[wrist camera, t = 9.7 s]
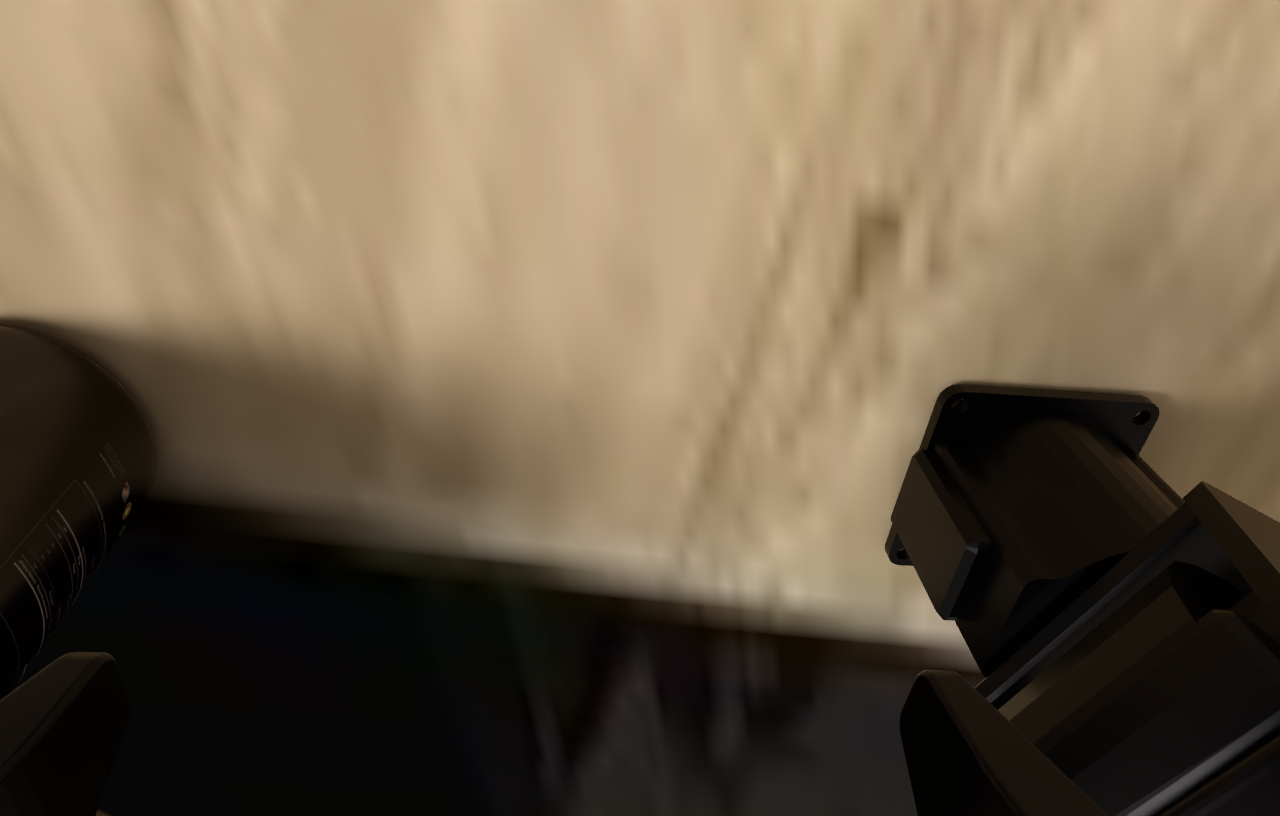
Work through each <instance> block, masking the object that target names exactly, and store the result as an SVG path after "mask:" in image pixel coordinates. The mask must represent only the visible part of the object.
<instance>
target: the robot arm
mask: <svg viewBox="0 0 1280 816" xmlns="http://www.w3.org/2000/svg"><path fill="white" fill-rule="evenodd" d="M961 399H963V400H962V402H961V403H960V404H959V405H957V406H956V407H951V406H952V404H953V403H954V402H955V401H957V400H961ZM1140 411H1141V412H1140ZM1138 412H1140V414H1139V415H1137V416H1135V415H1136V414H1137V413H1138ZM1134 416H1135V417H1134ZM1158 416H1159V408H1158V407H1157V406H1156V405H1155V404H1154V403H1153V402H1151V401H1150V400H1149V399H1148V398H1147V397H1144V396H1136V395H1120V394H1104V393H1088V392H1072V391H1056V390H1040V389H1024V388H1008V387H992V386H976V385H960V384H959V385H952V386H950V387H948V388H946V389H944V390H943V391H942V392H941V393H940V395H939V396H938V398H937V401H936V403H935V406H934V409H933V412H932V415H931V417H930V420H929V423H928V426H927V429H926V431H925V434H924V437H923V440H922V443H921V445H920V448H919V450H918V451H917V452H916V453H915V454H914V455H913V456H912V459H911V462H910V464H909V467H908V470H907V473H906V476H905V479H904V481H903V484H902V487H901V490H900V493H899V496H898V498H897V501H896V504H895V507H894V510H893V513H892V515H891V521H892V523H893V524H892V527H891V529H890V532H889V535H888V538H887V541H886V543H885V550H886V553H887V555H888V557H889V559H890V561H891V562H892V563H894V564H897V565H909V566H914V568H915V570H916V572H917V574H918V576H919V578H920V580H921V582H922V584H923V586H924V588H925V590H926V592H927V594H928V596H929V598H930V600H931V602H932V604H933V606H934V608H935V610H936V612H937V613H938V614H939V615H940V616H941V617H942V619H943V620H955V622H956V624H957V626H958V628H959V630H960V632H961V634H962V636H963V638H964V639H965V641H966V643H967V645H968V647H969V649H970V651H971V653H972V655H973V657H974V659H975V661H976V663H977V665H978V667H979V669H980V671H981V672H982V674H983V675H984V676H985V677H986V678H985V679H984V680H983V681H982V682H981V683H979V684H978V685H977V686H976V687H975V688H974V687H973V686H972V685H971V684H970V683H969V682H967V681H966V680H965V679H964V678H963V677H962V676H961V675H959V674H958V673H956V672H954V671H949V670H923V671H922V672H921V673H919V674H918V675H917V677H916V679H915V682H914V684H913V686H912V688H911V691H910V693H909V695H908V698H907V700H906V702H905V704H904V707H903V709H902V712H901V716H900V733H901V739H902V743H903V748H904V753H905V757H906V762H907V767H908V772H909V776H910V781H911V786H912V790H913V795H914V800H915V805H916V809H917V814H918V816H1280V523H1279V522H1277V521H1275V520H1274V519H1272V518H1270V517H1268V516H1266V515H1264V514H1263V513H1261V512H1259V511H1257V510H1255V509H1253V508H1252V507H1250V506H1248V505H1246V504H1244V503H1242V502H1241V501H1239V500H1237V499H1235V498H1233V497H1231V496H1230V495H1228V494H1226V493H1224V492H1222V491H1220V490H1218V489H1217V488H1215V487H1213V486H1211V485H1209V484H1207V483H1206V482H1203V481H1202V482H1200V483H1199V484H1198V485H1197V486H1196V487H1195V488H1194V489H1193V490H1191V491H1190V492H1189V493H1188V494H1187V495H1186V496H1185V497H1184V498H1183V499H1182V498H1181V497H1180V496H1179V495H1178V494H1177V493H1176V492H1175V491H1174V490H1173V489H1172V488H1171V487H1170V486H1169V485H1168V484H1167V483H1166V482H1165V481H1164V480H1163V479H1162V478H1161V477H1160V476H1159V475H1158V474H1157V473H1156V472H1155V471H1154V470H1153V469H1152V468H1151V467H1150V466H1149V465H1148V464H1147V463H1146V462H1145V461H1144V460H1143V459H1142V458H1141V457H1140V456H1139V453H1140V451H1141V449H1142V447H1143V445H1144V443H1145V442H1146V440H1147V438H1148V436H1149V434H1150V432H1151V430H1152V429H1153V427H1154V425H1155V423H1156V421H1157V419H1158ZM902 548H905V549H903V550H901V551H898V550H900V549H902ZM130 710H131V707H130V699H129V696H128V694H127V691H126V688H125V686H124V683H123V680H122V677H121V675H120V672H119V669H118V666H117V664H116V661H115V659H114V658H113V657H112V656H111V655H109V654H108V653H103V652H72V653H68V654H65V655H63V656H61V657H59V658H58V659H56V660H55V661H53V662H52V663H51V664H49V665H48V666H47V667H45V668H44V669H42V670H41V671H40V672H38V673H37V674H36V675H34V676H33V677H31V678H30V679H29V680H27V681H26V682H25V683H23V684H22V685H20V686H19V687H18V688H16V689H15V690H13V691H12V692H11V693H9V694H8V695H7V696H5V697H4V698H2V699H1V700H0V816H95V815H96V812H97V809H98V807H99V804H100V801H101V798H102V795H103V793H104V790H105V787H106V784H107V781H108V779H109V776H110V773H111V770H112V768H113V765H114V762H115V759H116V756H117V754H118V751H119V748H120V745H121V742H122V740H123V737H124V734H125V731H126V729H127V726H128V722H129V718H130Z"/></svg>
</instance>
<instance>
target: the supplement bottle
mask: <svg viewBox="0 0 1280 816" xmlns="http://www.w3.org/2000/svg"><path fill="white" fill-rule="evenodd" d="M155 470H156V450H155V444H154V439H153V436H152V433H151V430H150V427H149V425H148V423H147V421H146V418H145V417H144V415H143V413H142V412H141V410H140V408H139V407H138V405H137V404H136V402H135V401H134V399H133V398H132V397H131V396H130V394H129V393H128V392H127V391H126V390H125V389H124V388H123V387H122V386H121V384H120V383H119V382H118V381H117V380H116V379H114V378H113V377H112V376H111V375H110V374H109V373H108V372H106V371H105V370H104V369H103V368H101V367H100V366H99V365H97V364H96V363H95V362H93V361H91V360H90V359H88V358H87V357H85V356H84V355H82V354H80V353H79V352H77V351H75V350H73V349H72V348H70V347H67V346H65V345H63V344H61V343H59V342H57V341H54V340H52V339H50V338H47V337H45V336H42V335H39V334H36V333H32V332H29V331H25V330H21V329H18V328H13V327H8V326H3V325H0V700H1V699H2V698H4V697H5V696H7V695H8V694H9V693H11V692H12V691H13V690H14V688H15V687H16V686H17V684H18V683H19V681H20V680H21V678H22V677H23V675H24V674H25V673H26V671H27V670H28V668H29V667H30V665H31V664H32V663H33V661H34V660H35V658H36V657H37V655H38V654H39V652H40V651H41V650H42V648H43V647H44V645H45V644H46V642H47V641H48V639H49V638H50V637H51V635H52V634H53V632H54V631H55V629H56V628H57V626H58V625H59V624H60V622H61V621H62V619H63V618H64V616H65V615H66V613H67V612H68V611H69V609H70V608H71V606H72V605H73V603H74V602H75V601H76V599H77V598H78V596H79V595H80V593H81V592H82V590H83V589H84V588H85V586H86V585H87V583H88V582H89V580H90V579H91V577H92V576H93V575H94V573H95V572H96V570H97V569H98V567H99V566H100V564H101V563H102V562H103V560H104V559H105V557H106V556H107V554H108V553H109V552H110V550H111V549H112V547H113V546H114V544H115V543H116V541H117V540H118V539H119V537H120V536H121V534H122V533H123V531H124V530H125V528H126V527H127V526H128V524H129V523H130V521H131V519H132V518H133V516H134V515H135V513H136V512H137V510H138V509H139V507H140V506H141V504H142V503H143V501H144V499H145V497H146V496H147V494H148V492H149V490H150V488H151V485H152V483H153V479H154V475H155Z"/></svg>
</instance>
